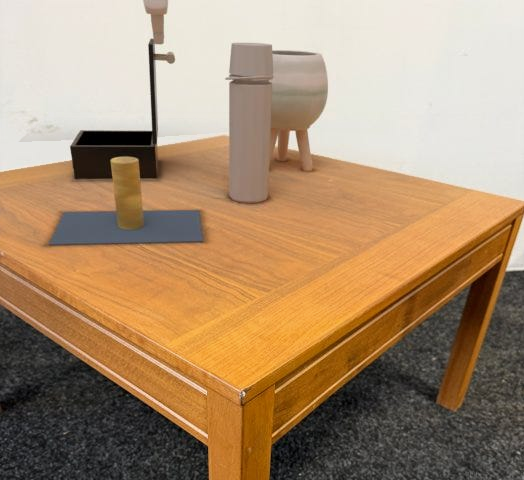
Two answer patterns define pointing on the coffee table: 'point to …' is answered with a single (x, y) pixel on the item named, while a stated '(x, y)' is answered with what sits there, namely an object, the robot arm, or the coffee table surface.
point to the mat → (107, 231)
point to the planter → (296, 100)
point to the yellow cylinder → (127, 192)
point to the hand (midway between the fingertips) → (159, 42)
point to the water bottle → (249, 121)
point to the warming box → (112, 152)
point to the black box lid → (153, 91)
